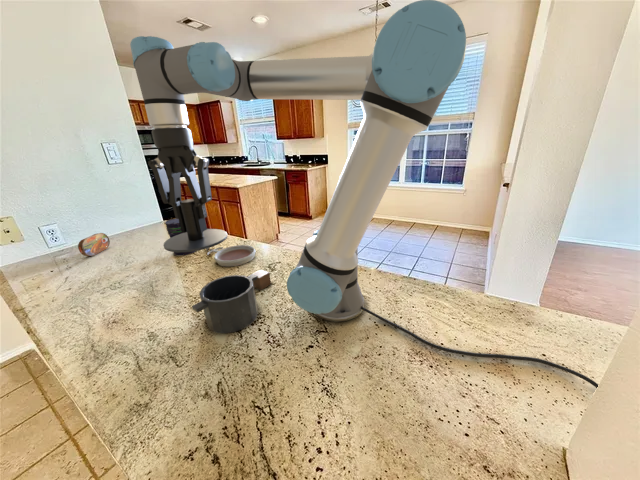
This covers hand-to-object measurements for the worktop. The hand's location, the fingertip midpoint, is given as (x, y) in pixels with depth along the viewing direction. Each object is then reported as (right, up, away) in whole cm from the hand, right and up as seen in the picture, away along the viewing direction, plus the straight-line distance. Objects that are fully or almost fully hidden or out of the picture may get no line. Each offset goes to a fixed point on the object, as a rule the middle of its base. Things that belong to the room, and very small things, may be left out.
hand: (194, 230), depth 65 cm
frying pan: (-9, -9, +49) cm, 51 cm away
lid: (0, -2, +1) cm, 3 cm away
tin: (-76, -8, +62) cm, 98 cm away
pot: (+6, -24, +9) cm, 26 cm away
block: (+11, -18, +24) cm, 32 cm away
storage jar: (-31, -8, +57) cm, 65 cm away
